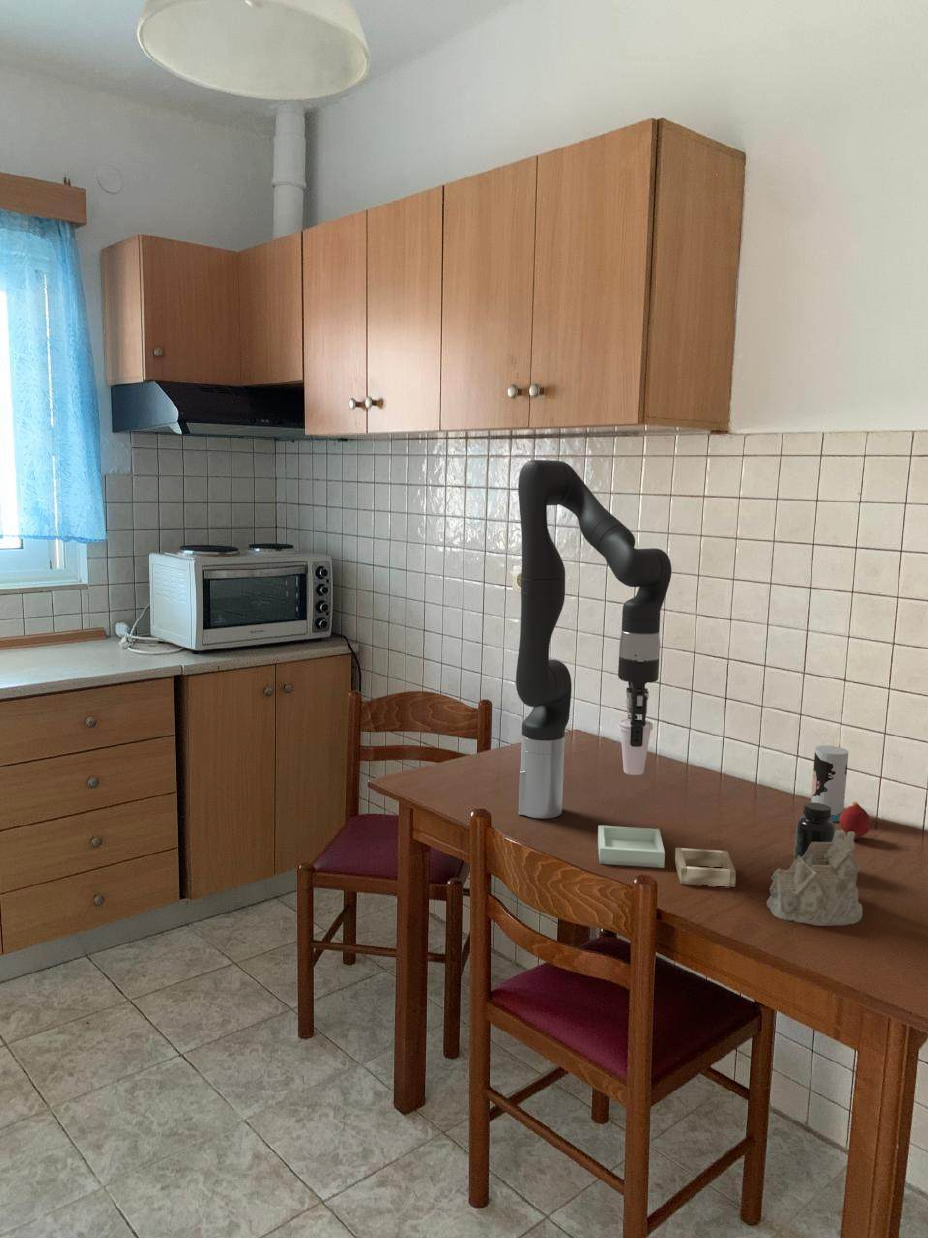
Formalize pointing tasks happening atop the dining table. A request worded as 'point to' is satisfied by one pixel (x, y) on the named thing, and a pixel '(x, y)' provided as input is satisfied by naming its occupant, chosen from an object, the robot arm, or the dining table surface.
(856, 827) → the onion
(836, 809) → the cup
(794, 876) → the ceramic cottage
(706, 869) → the rectangular wooden frame
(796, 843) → the supplement bottle
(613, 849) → the tray
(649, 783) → the dining table surface
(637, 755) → the smoothie
